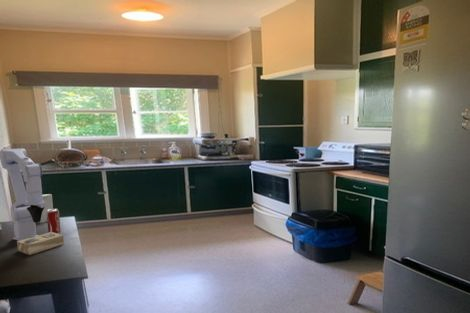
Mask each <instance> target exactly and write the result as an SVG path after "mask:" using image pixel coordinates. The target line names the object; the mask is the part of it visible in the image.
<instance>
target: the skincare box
mask: <svg viewBox="0 0 470 313" xmlns="http://www.w3.org/2000/svg"><path fill="white" fill-rule="evenodd" d="M42 197H43V201H44V202H46V207H45V208H44V209H43V212H42V215H41V221H40V222H37V223H38V224H42V223H46V222H47V210H50V209H54V204H53V195H52V194H51V193H48V194H42Z"/></svg>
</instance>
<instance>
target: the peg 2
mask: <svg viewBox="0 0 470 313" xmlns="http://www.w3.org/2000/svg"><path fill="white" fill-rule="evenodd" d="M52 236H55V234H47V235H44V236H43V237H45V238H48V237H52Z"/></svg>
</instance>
